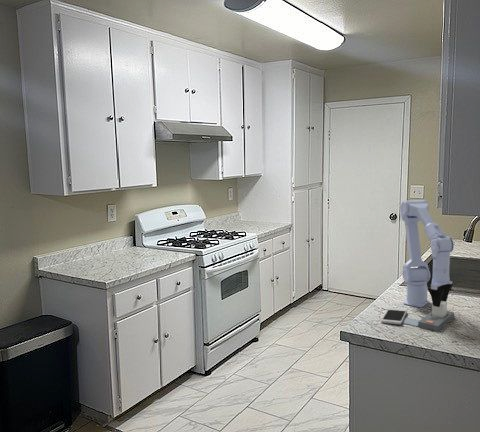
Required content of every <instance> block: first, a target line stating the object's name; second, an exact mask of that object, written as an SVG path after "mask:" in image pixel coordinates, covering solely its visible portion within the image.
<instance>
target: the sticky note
mask: <svg viewBox="0 0 480 432" xmlns="http://www.w3.org/2000/svg"><path fill="white" fill-rule="evenodd" d="M420 320H421V319H416V318H413V317H412V318H411V317H404V319H403V321H402V323H401V324H405V325H408V326H412V327H418V321H420Z"/></svg>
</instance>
